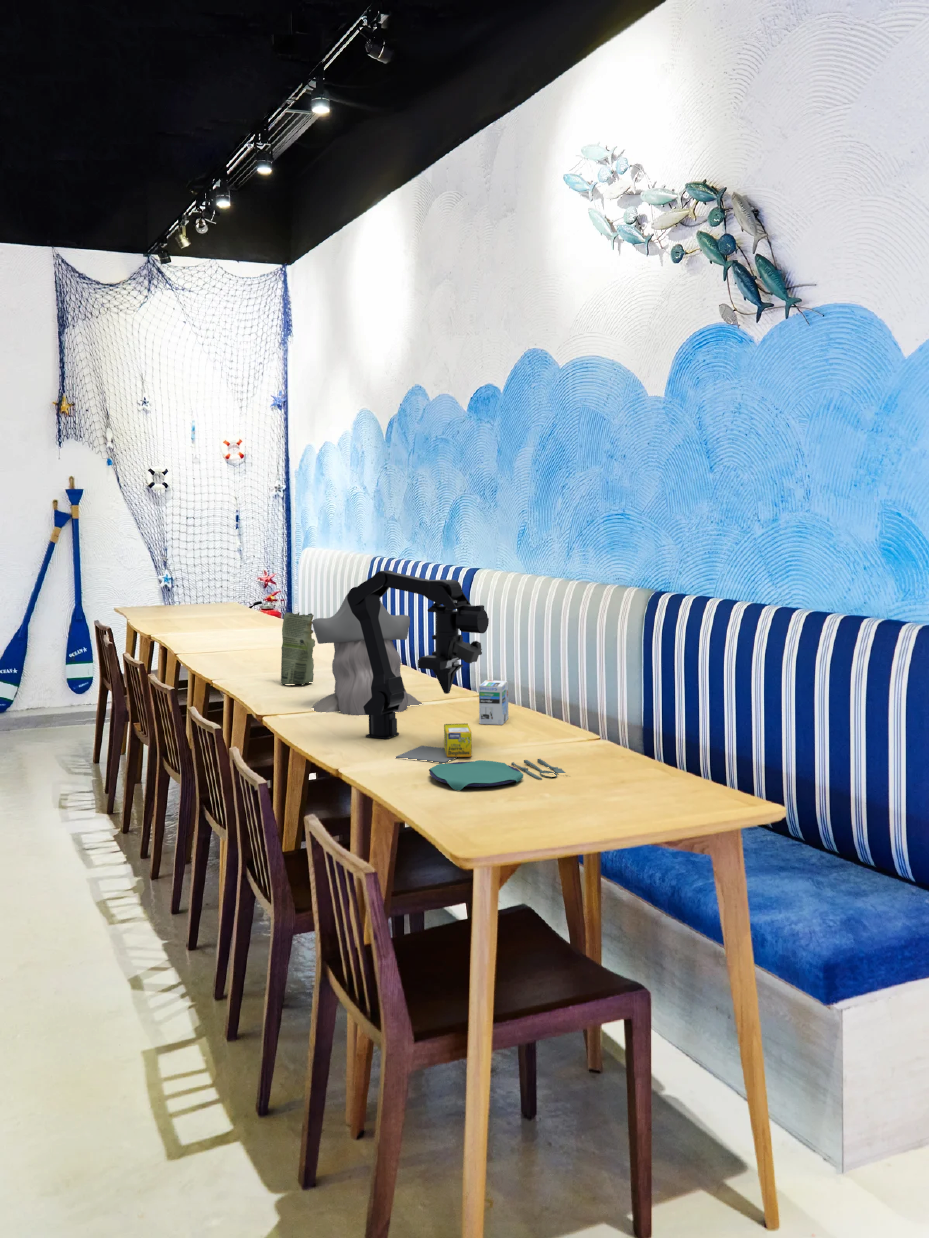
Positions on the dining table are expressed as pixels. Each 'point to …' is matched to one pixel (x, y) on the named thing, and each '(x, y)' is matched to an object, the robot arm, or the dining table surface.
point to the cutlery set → (484, 773)
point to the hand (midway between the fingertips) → (446, 693)
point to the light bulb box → (493, 702)
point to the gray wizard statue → (357, 658)
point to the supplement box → (457, 740)
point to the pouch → (297, 649)
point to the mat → (427, 754)
